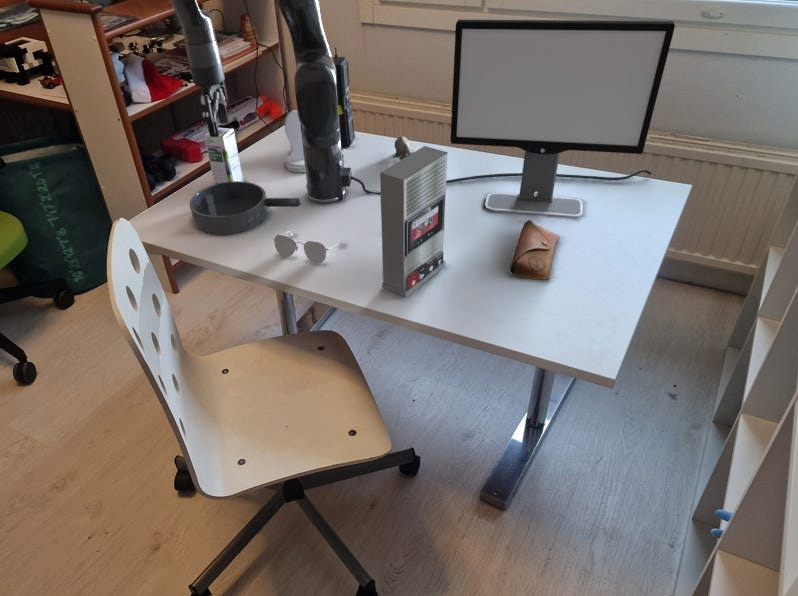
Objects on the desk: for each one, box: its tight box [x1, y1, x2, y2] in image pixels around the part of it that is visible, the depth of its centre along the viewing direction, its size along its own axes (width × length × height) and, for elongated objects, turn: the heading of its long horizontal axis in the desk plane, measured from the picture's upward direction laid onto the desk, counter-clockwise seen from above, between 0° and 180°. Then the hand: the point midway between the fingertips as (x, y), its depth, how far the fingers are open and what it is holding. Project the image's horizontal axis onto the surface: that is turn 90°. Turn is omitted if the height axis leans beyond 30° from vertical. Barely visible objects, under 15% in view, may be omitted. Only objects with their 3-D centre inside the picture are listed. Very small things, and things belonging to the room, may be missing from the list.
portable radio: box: [332, 47, 356, 148], centre depth 176 cm, size 8×6×25 cm
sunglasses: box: [272, 231, 344, 265], centre depth 140 cm, size 14×8×5 cm, turn 65°
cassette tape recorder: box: [379, 145, 448, 298], centre depth 123 cm, size 14×6×25 cm, turn 139°
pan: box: [189, 180, 269, 236], centre depth 154 cm, size 18×18×5 cm
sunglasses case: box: [509, 219, 561, 281], centre depth 134 cm, size 18×7×7 cm
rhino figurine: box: [394, 135, 414, 160], centre depth 170 cm, size 4×14×6 cm, turn 10°
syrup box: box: [203, 127, 244, 185], centre depth 164 cm, size 6×6×14 cm
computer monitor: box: [449, 19, 676, 218], centre depth 137 cm, size 41×8×40 cm, turn 74°
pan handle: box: [264, 197, 302, 208], centre depth 151 cm, size 9×2×2 cm, turn 83°
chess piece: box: [284, 109, 306, 173], centre depth 170 cm, size 10×10×15 cm
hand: (219, 129), depth 159 cm, fingers open, 8 cm apart
